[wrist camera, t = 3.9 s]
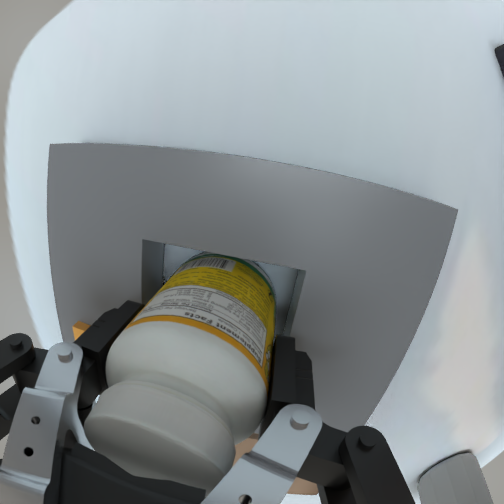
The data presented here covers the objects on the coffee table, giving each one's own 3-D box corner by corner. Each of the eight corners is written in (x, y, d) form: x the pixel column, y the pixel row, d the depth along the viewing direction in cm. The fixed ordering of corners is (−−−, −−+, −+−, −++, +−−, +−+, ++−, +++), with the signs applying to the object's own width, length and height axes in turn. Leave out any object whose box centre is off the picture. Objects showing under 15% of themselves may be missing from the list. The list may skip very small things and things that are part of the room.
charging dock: (431, 199, 12) (465, 212, 9) (347, 413, 16) (353, 449, 13) (80, 143, 13) (41, 144, 10) (90, 355, 17) (67, 381, 14)
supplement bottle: (215, 225, 13) (91, 351, 4) (300, 298, 14) (307, 481, 5) (155, 298, 15) (48, 429, 6) (231, 359, 16) (186, 513, 7)
